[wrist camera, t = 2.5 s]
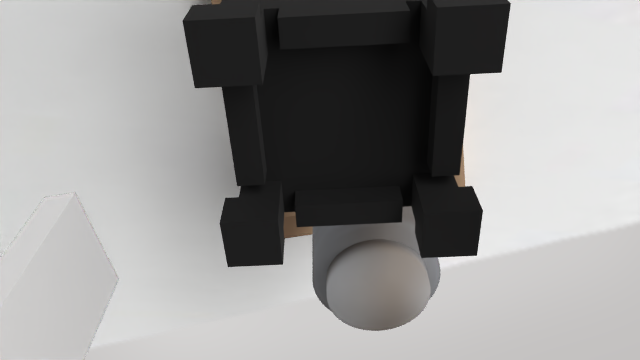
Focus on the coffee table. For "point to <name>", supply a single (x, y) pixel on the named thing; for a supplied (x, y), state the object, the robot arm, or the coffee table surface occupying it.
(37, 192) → the coffee table surface
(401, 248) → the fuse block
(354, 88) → the chess piece
